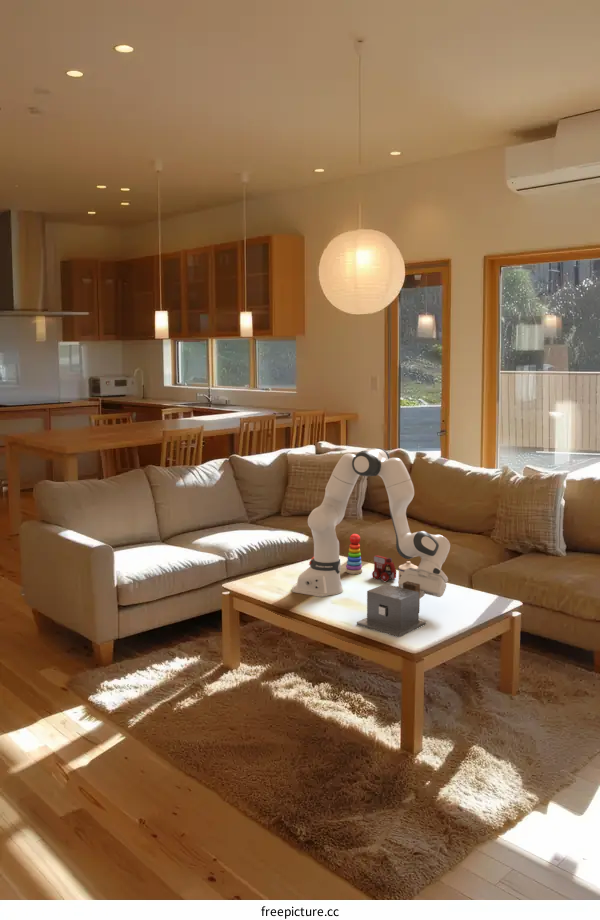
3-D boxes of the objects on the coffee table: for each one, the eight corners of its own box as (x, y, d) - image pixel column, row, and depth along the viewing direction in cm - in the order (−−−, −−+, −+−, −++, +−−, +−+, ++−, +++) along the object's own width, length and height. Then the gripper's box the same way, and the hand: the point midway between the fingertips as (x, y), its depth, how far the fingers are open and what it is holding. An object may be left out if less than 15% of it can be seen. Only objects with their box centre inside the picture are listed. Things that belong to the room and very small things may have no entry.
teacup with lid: (394, 588, 362) (395, 562, 361) (402, 582, 370) (402, 557, 368) (420, 592, 357) (420, 566, 355) (427, 586, 364) (427, 561, 363)
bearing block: (384, 613, 330) (384, 581, 328) (425, 624, 317) (426, 592, 315) (356, 624, 317) (356, 592, 315) (398, 637, 304) (399, 603, 302)
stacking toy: (352, 575, 381) (353, 536, 378) (342, 571, 387) (342, 533, 384) (365, 572, 386) (365, 534, 383) (354, 569, 392) (355, 531, 389)
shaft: (406, 609, 330) (407, 581, 328) (419, 613, 326) (420, 584, 324) (375, 623, 315) (375, 593, 313) (388, 627, 310) (388, 597, 309)
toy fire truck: (390, 583, 369) (390, 561, 368) (369, 577, 378) (369, 556, 376) (399, 580, 374) (400, 558, 373) (378, 574, 383) (379, 553, 381)
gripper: (403, 563, 338) (389, 591, 333) (446, 572, 325) (432, 602, 319) (409, 570, 342) (396, 599, 337) (451, 580, 328) (438, 609, 323)
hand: (414, 600), depth 328 cm, fingers closed, pressing on shaft
